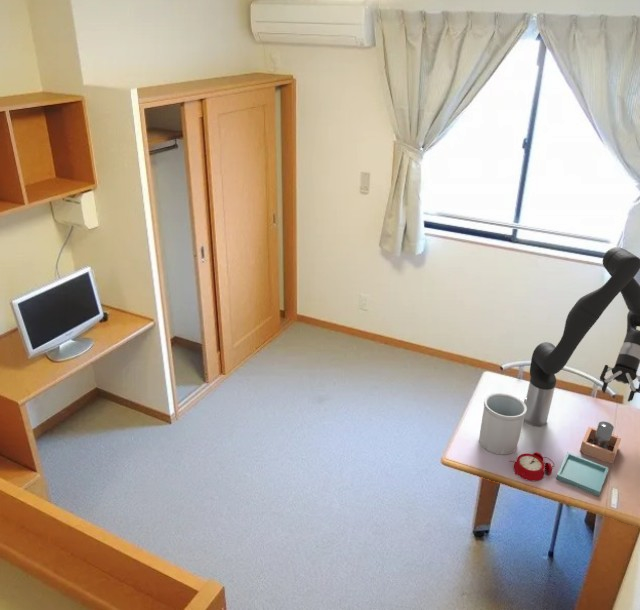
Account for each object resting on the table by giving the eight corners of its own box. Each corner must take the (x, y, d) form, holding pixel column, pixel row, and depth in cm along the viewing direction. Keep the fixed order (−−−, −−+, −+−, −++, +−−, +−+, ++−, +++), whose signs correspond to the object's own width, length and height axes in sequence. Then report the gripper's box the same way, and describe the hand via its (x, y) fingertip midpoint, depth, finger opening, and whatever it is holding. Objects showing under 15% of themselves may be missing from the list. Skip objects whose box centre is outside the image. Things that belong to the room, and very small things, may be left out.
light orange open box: (579, 451, 216) (581, 442, 214) (586, 435, 225) (589, 426, 223) (612, 464, 211) (615, 454, 208) (618, 447, 219) (621, 437, 217)
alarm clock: (506, 457, 208) (542, 441, 211) (506, 469, 211) (542, 453, 214) (524, 477, 199) (561, 460, 202) (524, 489, 202) (561, 473, 205)
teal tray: (555, 478, 204) (556, 474, 203) (566, 456, 214) (567, 452, 213) (598, 496, 197) (600, 492, 196) (607, 472, 207) (608, 467, 206)
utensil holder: (484, 424, 229) (491, 387, 221) (522, 438, 223) (531, 400, 215) (472, 446, 218) (478, 408, 210) (512, 461, 211) (521, 422, 203)
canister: (590, 450, 217) (597, 426, 212) (593, 443, 221) (600, 419, 216) (604, 455, 214) (612, 432, 209) (607, 448, 218) (614, 424, 213)
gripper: (609, 348, 220) (595, 388, 217) (651, 360, 213) (637, 401, 210) (608, 354, 227) (595, 392, 223) (649, 366, 220) (636, 406, 216)
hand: (616, 397), depth 217 cm, fingers open, 8 cm apart
